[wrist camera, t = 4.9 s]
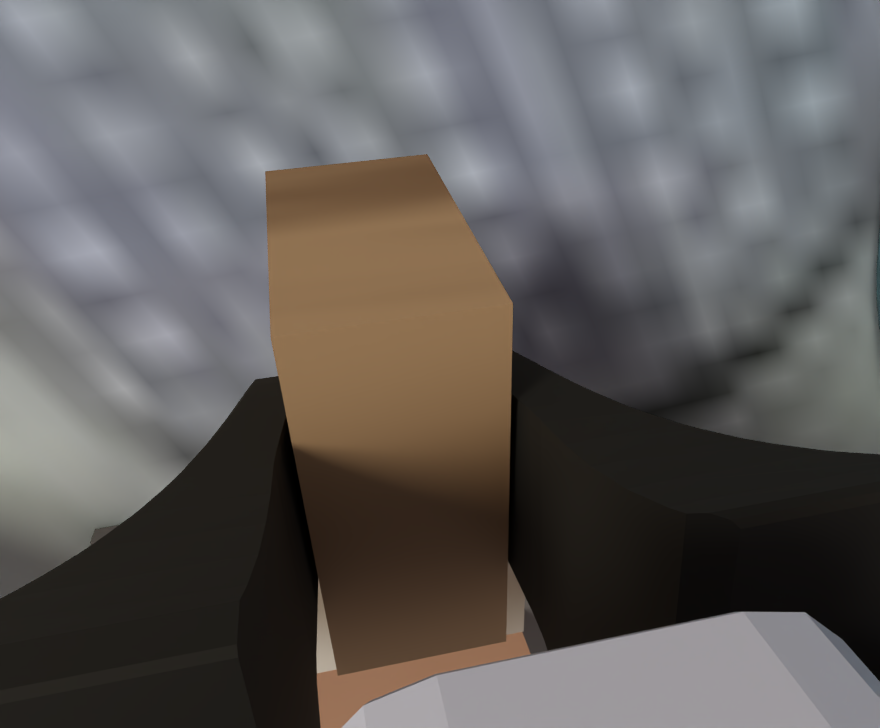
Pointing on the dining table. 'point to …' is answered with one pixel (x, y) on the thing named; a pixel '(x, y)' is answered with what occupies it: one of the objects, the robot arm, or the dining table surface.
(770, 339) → the dining table surface
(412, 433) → the tall cardboard box
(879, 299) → the casserole dish
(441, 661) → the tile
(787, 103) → the dining table surface
